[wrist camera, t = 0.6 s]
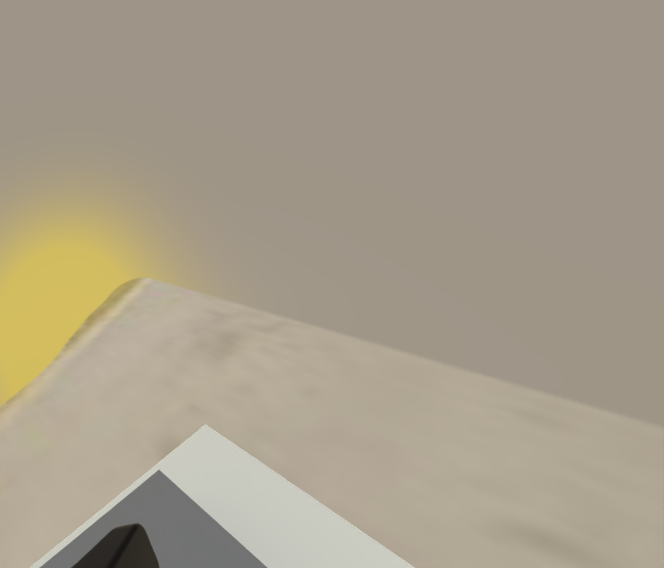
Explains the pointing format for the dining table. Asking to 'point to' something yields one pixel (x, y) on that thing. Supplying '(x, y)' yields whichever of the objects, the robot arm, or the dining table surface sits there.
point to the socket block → (225, 517)
